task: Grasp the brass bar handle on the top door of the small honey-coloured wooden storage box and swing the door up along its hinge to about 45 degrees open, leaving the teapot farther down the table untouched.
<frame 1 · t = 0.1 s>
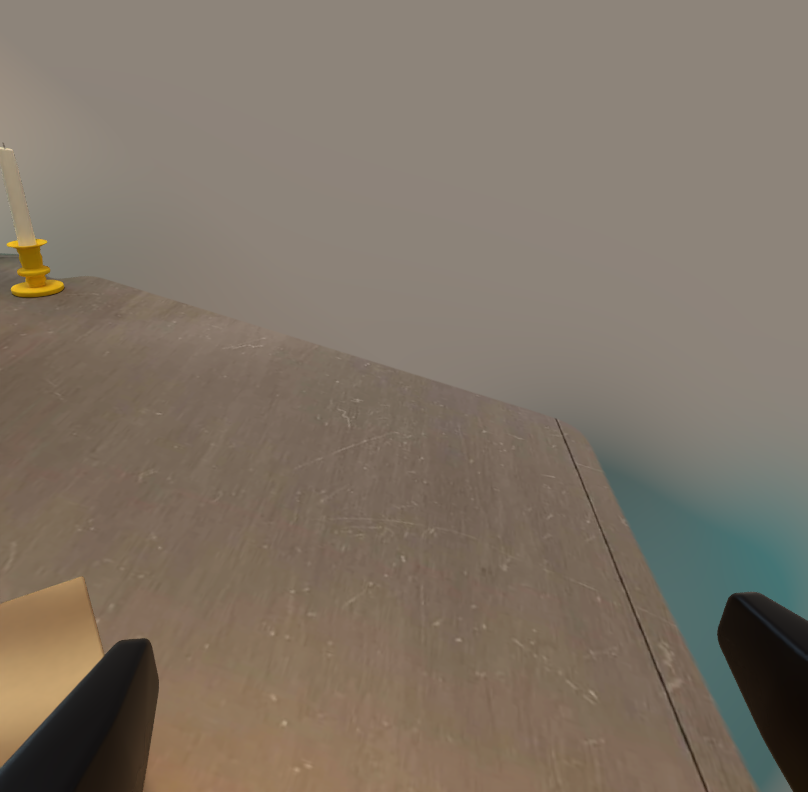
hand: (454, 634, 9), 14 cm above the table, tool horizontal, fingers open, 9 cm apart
candle: (39, 292, 70), on the table
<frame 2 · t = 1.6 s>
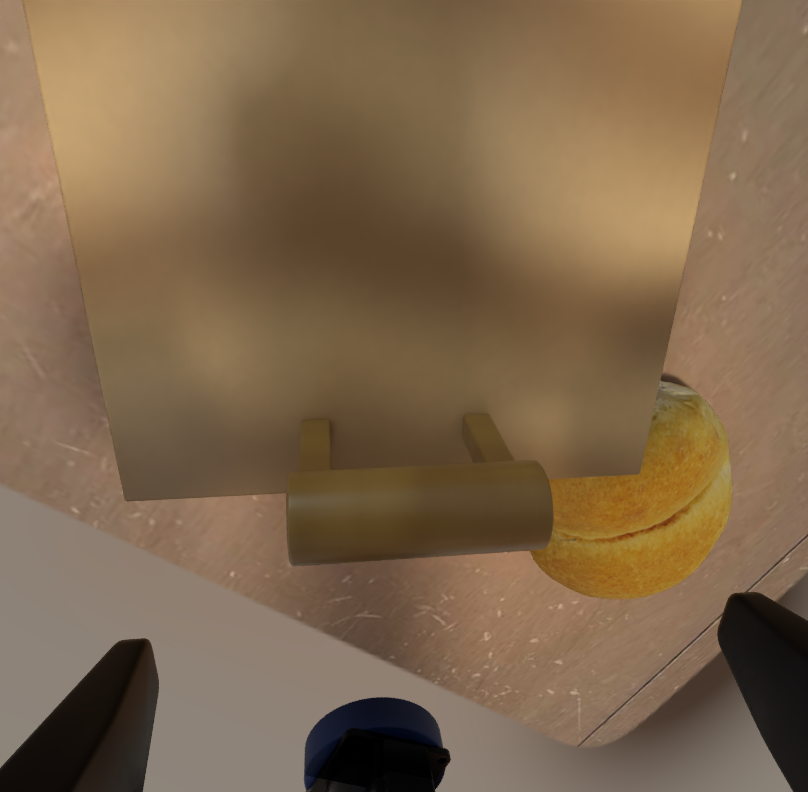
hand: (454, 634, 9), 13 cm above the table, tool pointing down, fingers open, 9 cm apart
box door: (411, 301, 12), point 8 cm above the table, hinge at 0.0°
bread roll: (606, 470, 25), on the table
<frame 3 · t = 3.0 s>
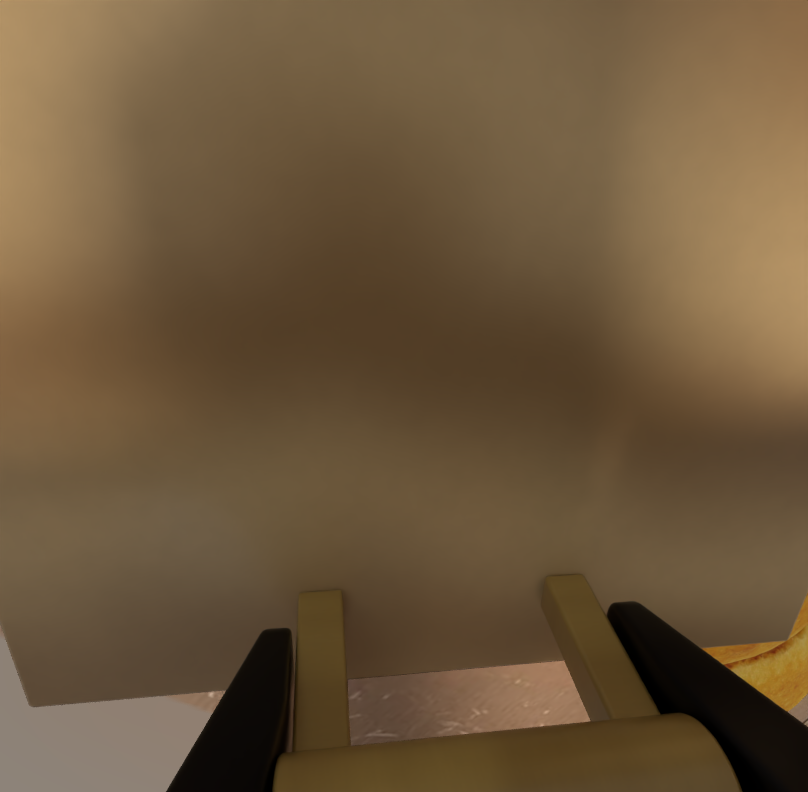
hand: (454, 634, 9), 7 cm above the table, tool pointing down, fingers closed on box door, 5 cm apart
box door: (493, 459, 7), point 8 cm above the table, hinge at 0.0°, touching gripper
bread roll: (683, 564, 20), on the table
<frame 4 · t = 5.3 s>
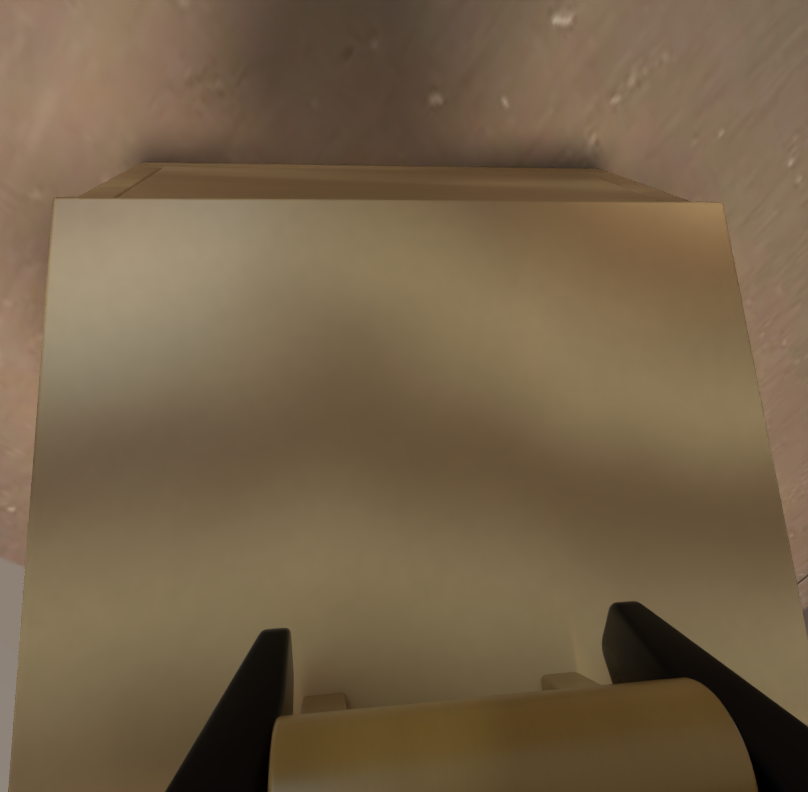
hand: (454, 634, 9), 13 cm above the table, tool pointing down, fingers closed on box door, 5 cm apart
box door: (448, 464, 9), point 12 cm above the table, hinge at 41.2°, touching gripper
storage box: (378, 332, 21), on the table
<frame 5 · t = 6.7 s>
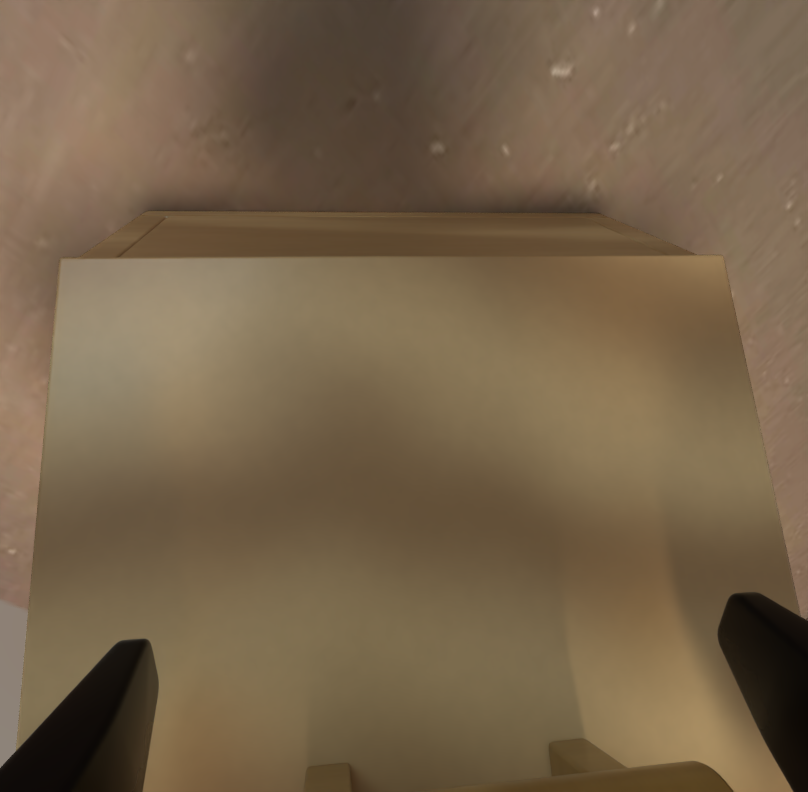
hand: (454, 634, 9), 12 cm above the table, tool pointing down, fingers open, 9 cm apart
box door: (453, 531, 9), point 12 cm above the table, hinge at 41.1°
storage box: (381, 374, 21), on the table
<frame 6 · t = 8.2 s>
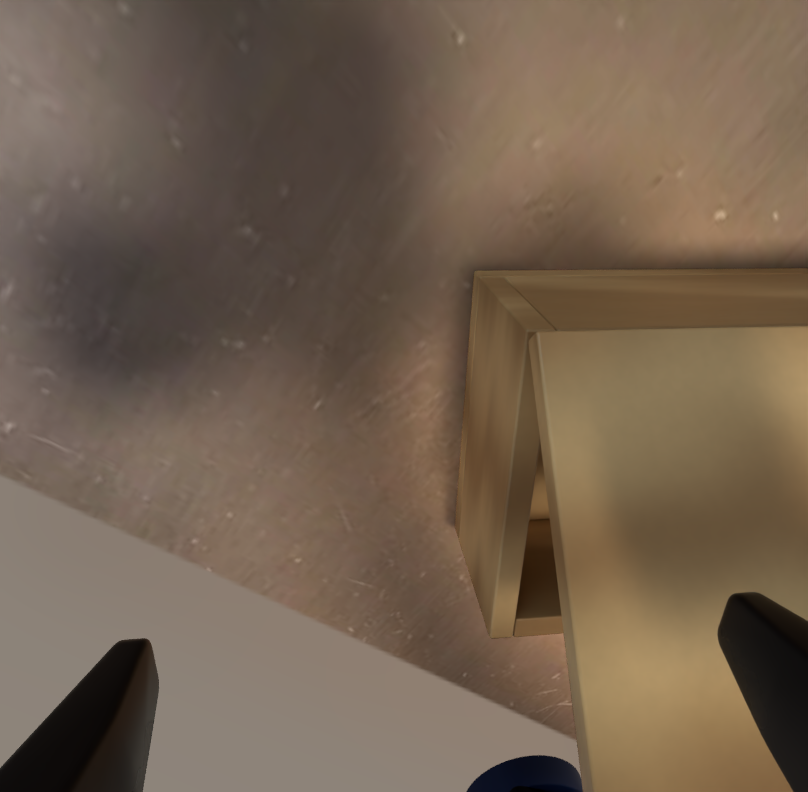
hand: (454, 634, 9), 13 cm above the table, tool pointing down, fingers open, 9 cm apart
storage box: (637, 405, 24), on the table
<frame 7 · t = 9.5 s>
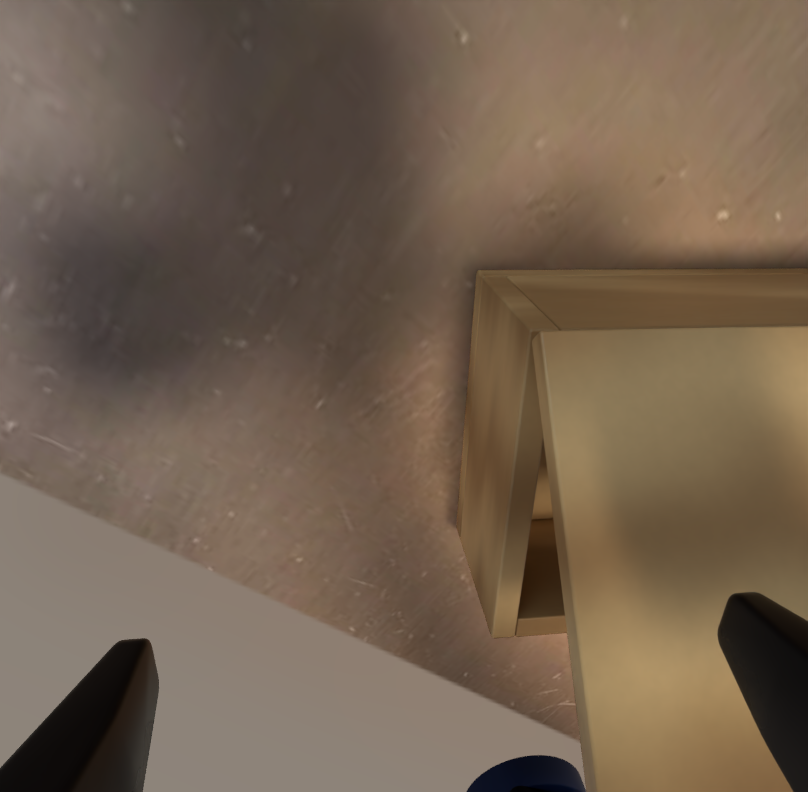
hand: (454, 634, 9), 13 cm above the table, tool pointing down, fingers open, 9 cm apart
storage box: (638, 405, 24), on the table
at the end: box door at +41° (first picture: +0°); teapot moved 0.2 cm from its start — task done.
